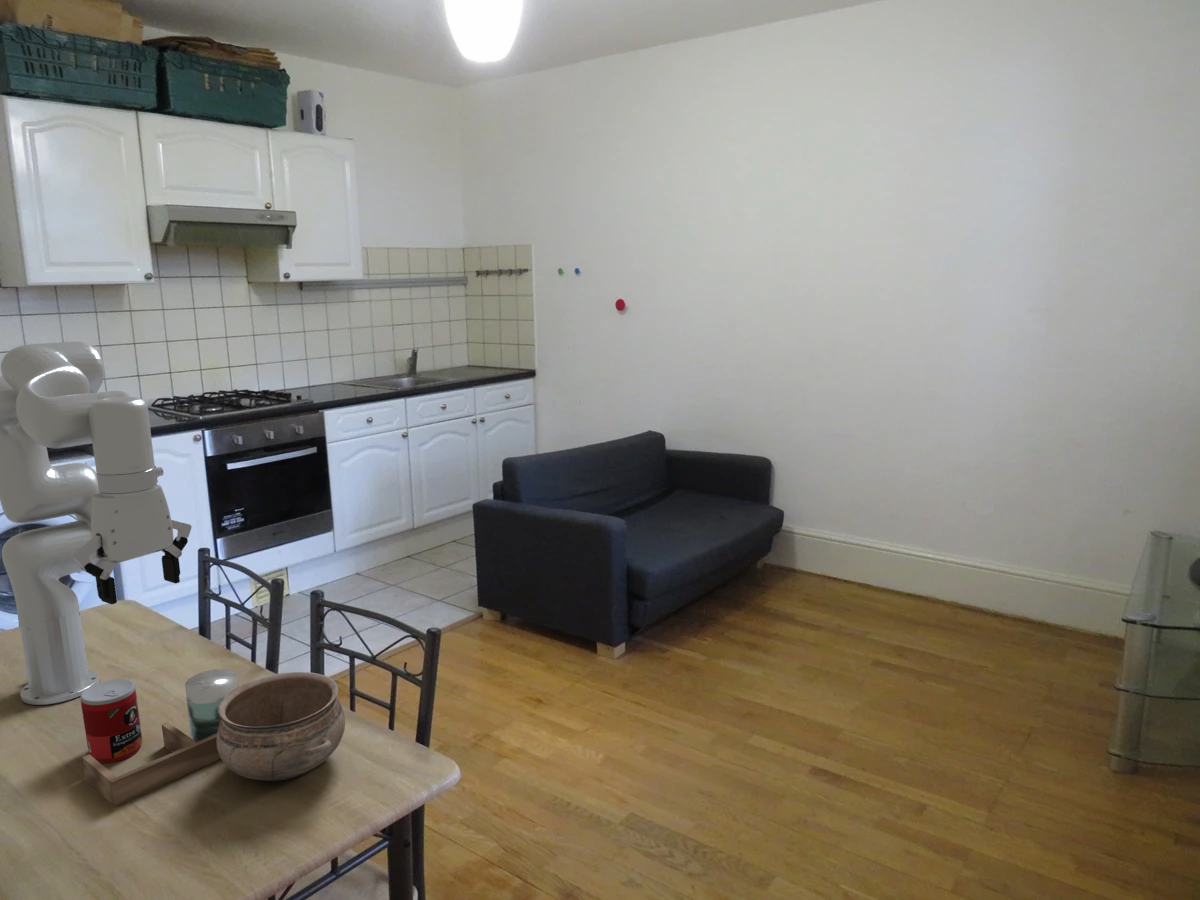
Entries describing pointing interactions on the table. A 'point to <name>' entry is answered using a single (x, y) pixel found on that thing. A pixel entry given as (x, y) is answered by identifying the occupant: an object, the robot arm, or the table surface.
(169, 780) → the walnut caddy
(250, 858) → the table surface
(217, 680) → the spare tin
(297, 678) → the cooking pot
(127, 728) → the canned food
